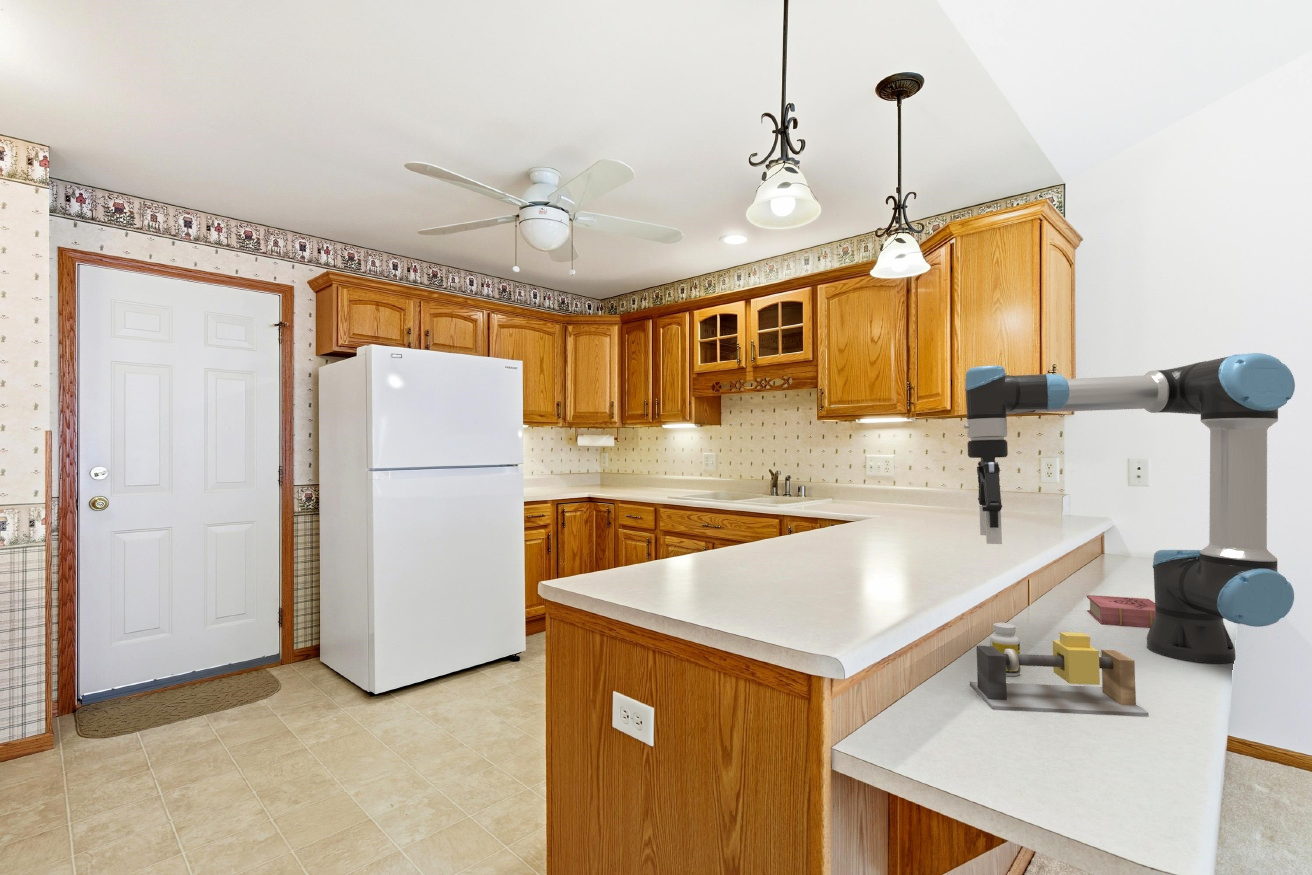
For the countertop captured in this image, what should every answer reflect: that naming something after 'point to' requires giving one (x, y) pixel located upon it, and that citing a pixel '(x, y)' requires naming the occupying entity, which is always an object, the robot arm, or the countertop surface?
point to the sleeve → (1077, 659)
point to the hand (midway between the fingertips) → (990, 539)
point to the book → (1122, 611)
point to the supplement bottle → (1006, 641)
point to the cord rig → (1107, 699)
